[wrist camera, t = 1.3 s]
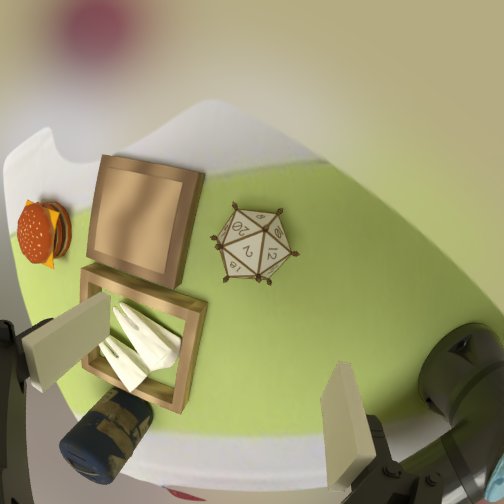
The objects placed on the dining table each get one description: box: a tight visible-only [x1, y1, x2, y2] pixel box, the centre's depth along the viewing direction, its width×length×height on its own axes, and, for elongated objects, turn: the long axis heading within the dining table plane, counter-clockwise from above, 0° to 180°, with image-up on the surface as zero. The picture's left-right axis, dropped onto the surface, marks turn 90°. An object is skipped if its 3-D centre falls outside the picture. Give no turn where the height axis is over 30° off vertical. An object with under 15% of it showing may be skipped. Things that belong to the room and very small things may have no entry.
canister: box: [59, 388, 152, 485], centre depth 33 cm, size 10×10×18 cm
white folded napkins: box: [99, 302, 181, 392], centre depth 37 cm, size 12×4×11 cm
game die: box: [210, 201, 300, 286], centre depth 30 cm, size 9×8×10 cm
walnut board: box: [86, 155, 205, 289], centre depth 34 cm, size 14×14×3 cm
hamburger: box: [17, 200, 71, 269], centre depth 35 cm, size 9×10×7 cm
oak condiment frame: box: [80, 263, 208, 414], centre depth 37 cm, size 18×18×4 cm
